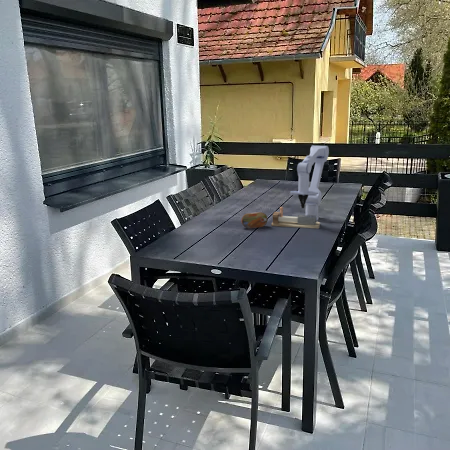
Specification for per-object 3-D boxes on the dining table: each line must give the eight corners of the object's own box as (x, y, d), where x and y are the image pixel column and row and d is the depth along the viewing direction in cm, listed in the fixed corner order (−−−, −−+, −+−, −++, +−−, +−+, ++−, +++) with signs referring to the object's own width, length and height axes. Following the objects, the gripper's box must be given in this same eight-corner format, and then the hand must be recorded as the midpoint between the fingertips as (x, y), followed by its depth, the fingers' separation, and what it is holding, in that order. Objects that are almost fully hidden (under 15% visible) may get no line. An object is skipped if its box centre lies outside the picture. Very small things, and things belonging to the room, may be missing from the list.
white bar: (276, 219, 268) (276, 206, 266) (304, 221, 264) (304, 207, 262) (275, 221, 265) (275, 207, 263) (303, 222, 261) (304, 208, 259)
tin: (242, 229, 258) (242, 214, 256) (240, 227, 261) (240, 213, 259) (267, 226, 262) (267, 212, 260) (265, 225, 265) (266, 211, 263)
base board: (273, 221, 272) (273, 219, 272) (319, 223, 266) (319, 222, 266) (271, 225, 263) (271, 224, 263) (318, 228, 256) (318, 226, 256)
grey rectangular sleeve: (298, 222, 266) (298, 214, 265) (316, 223, 264) (316, 215, 263) (297, 224, 261) (297, 216, 260) (315, 225, 259) (315, 217, 258)
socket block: (274, 220, 271) (274, 211, 269) (279, 220, 270) (279, 212, 268) (272, 223, 264) (272, 214, 263) (277, 223, 263) (277, 215, 262)
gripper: (289, 185, 256) (289, 208, 260) (316, 185, 253) (315, 210, 256) (291, 182, 263) (290, 206, 266) (317, 183, 259) (316, 207, 263)
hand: (302, 207), depth 262 cm, fingers closed
